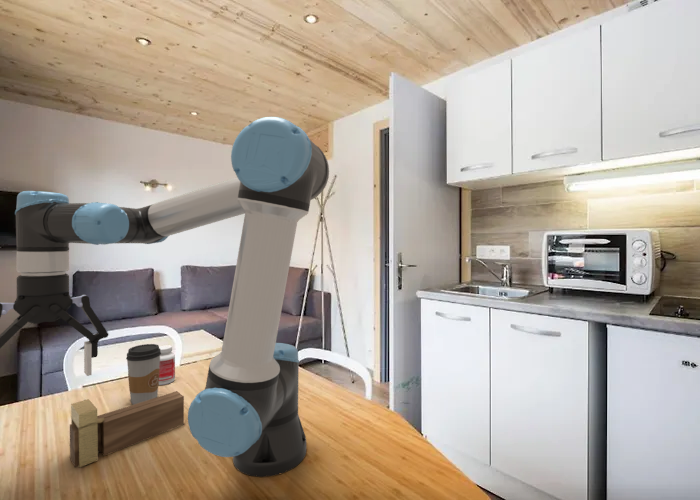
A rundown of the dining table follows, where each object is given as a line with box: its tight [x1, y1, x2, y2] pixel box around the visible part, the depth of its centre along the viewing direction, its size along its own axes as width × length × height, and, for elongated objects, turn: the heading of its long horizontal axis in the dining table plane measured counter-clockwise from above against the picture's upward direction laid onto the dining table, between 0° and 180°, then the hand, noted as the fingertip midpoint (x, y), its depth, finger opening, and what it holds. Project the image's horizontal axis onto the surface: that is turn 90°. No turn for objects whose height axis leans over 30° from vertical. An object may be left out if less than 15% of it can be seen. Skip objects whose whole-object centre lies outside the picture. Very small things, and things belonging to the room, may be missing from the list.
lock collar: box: [70, 398, 99, 468], centre depth 71 cm, size 7×3×10 cm, turn 49°
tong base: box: [69, 390, 181, 468], centre depth 78 cm, size 4×21×7 cm, turn 139°
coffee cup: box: [125, 343, 161, 405], centre depth 96 cm, size 8×8×15 cm
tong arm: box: [100, 393, 185, 457], centre depth 79 cm, size 2×16×7 cm, turn 139°
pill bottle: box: [158, 344, 176, 386], centre depth 110 cm, size 6×6×11 cm
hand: (44, 383), depth 66 cm, fingers open, 13 cm apart
